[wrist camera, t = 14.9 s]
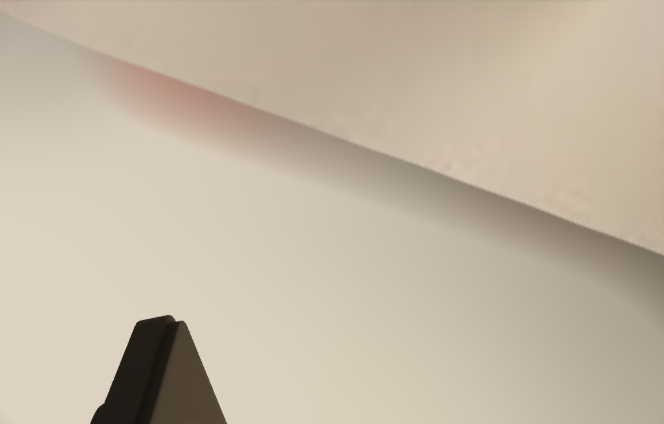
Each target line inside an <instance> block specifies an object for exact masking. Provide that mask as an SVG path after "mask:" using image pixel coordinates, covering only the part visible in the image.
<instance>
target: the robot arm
mask: <svg viewBox="0 0 664 424" xmlns="http://www.w3.org/2000/svg"><path fill="white" fill-rule="evenodd" d="M90 424H227V423H226V420H225V418H224V416H223V413H222V411H221V408H220V406H219V403H218V401H217V398H216V396H215V394H214V391H213V388H212V386H211V384H210V381H209V379H208V376H207V374H206V371H205V369H204V366H203V364H202V361H201V359H200V357H199V354H198V352H197V349H196V347H195V344H194V342H193V339H192V337H191V335H190V332H189V330H188V327H187V325H186V323H185V322H184V321H178V322H176V321H175V319H174V318H173V317H172V316H171V315H166V316H161V317H156V318H151V319H146V320H141V321H139V322H137V323H136V325H135V327H134V330H133V332H132V335H131V337H130V340H129V342H128V345H127V347H126V350H125V352H124V355H123V357H122V360H121V362H120V365H119V367H118V370H117V372H116V375H115V378H114V380H113V382H112V385H111V387H110V390H109V393H108V395H107V398H106V400H105V403H104V404H102V405H101V406H100V407H99V408H98V409H97V411H96V412H95V414H94V416H93V418H92V421H91V423H90Z"/></svg>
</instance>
